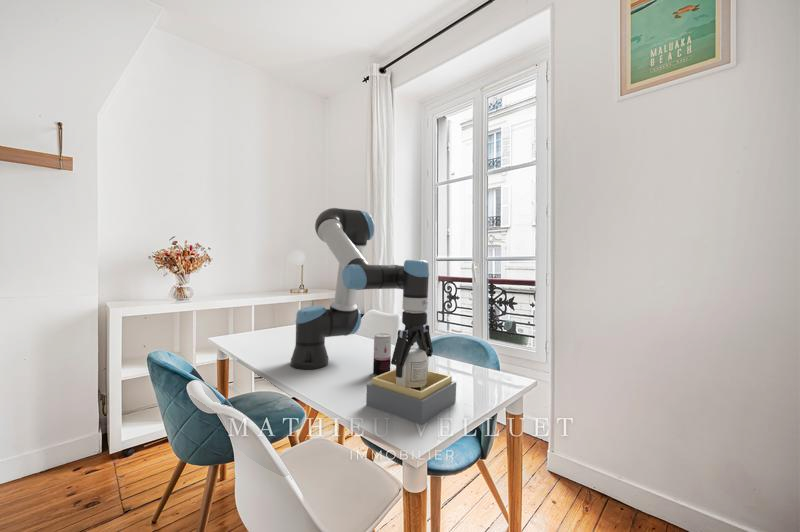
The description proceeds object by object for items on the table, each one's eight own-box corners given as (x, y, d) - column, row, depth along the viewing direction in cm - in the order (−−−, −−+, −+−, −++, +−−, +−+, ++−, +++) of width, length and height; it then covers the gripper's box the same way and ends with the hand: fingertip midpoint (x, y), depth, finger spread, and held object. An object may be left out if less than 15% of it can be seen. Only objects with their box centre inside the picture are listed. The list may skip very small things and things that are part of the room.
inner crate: (371, 404, 106) (372, 378, 106) (404, 388, 120) (405, 364, 120) (420, 421, 96) (421, 392, 96) (450, 401, 110) (451, 376, 110)
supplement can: (395, 403, 106) (397, 353, 105) (402, 393, 114) (405, 346, 113) (422, 407, 103) (424, 356, 103) (427, 397, 111) (430, 349, 111)
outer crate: (366, 407, 106) (366, 384, 106) (404, 388, 122) (404, 368, 122) (421, 427, 94) (422, 401, 94) (455, 404, 110) (456, 381, 110)
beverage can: (389, 371, 141) (390, 333, 140) (390, 376, 134) (392, 337, 134) (372, 371, 140) (373, 333, 139) (373, 376, 133) (374, 337, 133)
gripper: (401, 317, 95) (399, 397, 96) (445, 308, 115) (442, 374, 116) (380, 313, 100) (377, 390, 100) (425, 306, 119) (423, 369, 120)
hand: (412, 382), depth 108 cm, fingers open, 12 cm apart
